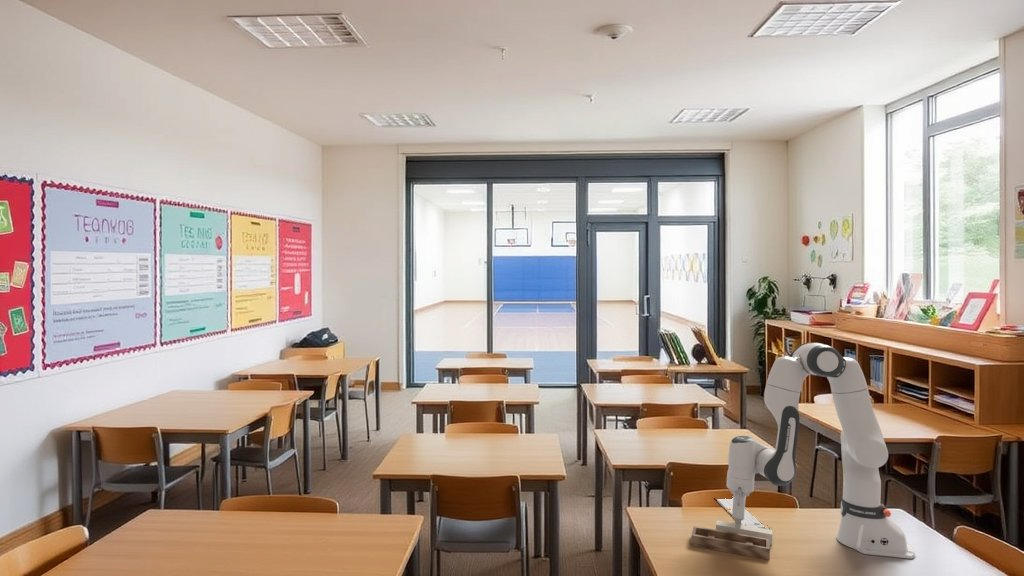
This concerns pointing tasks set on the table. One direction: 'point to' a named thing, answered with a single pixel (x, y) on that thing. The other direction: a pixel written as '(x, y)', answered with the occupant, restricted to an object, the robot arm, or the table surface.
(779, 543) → the table surface
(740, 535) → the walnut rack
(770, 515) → the table surface
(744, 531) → the clay strip
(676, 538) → the table surface
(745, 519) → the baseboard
